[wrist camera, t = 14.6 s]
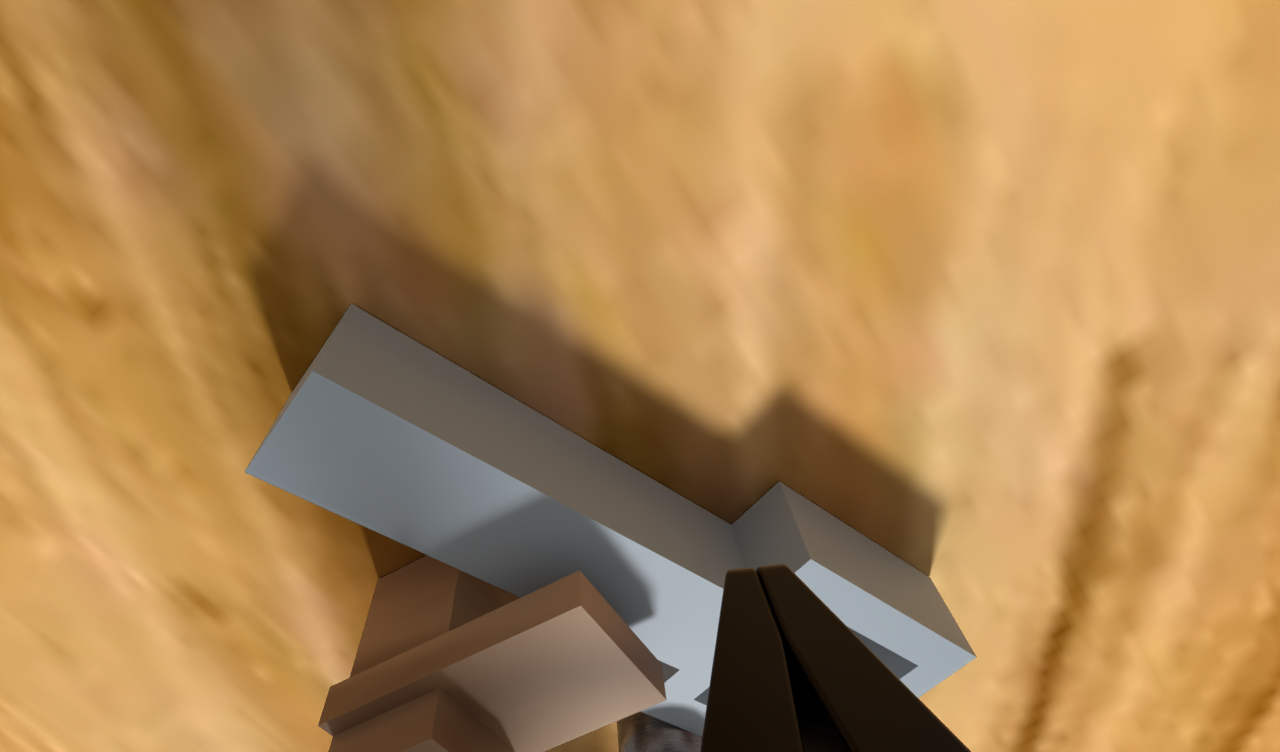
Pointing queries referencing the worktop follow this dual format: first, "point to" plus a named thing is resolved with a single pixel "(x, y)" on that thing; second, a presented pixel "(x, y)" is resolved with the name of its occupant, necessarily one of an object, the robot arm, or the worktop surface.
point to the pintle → (654, 735)
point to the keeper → (487, 667)
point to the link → (573, 513)
